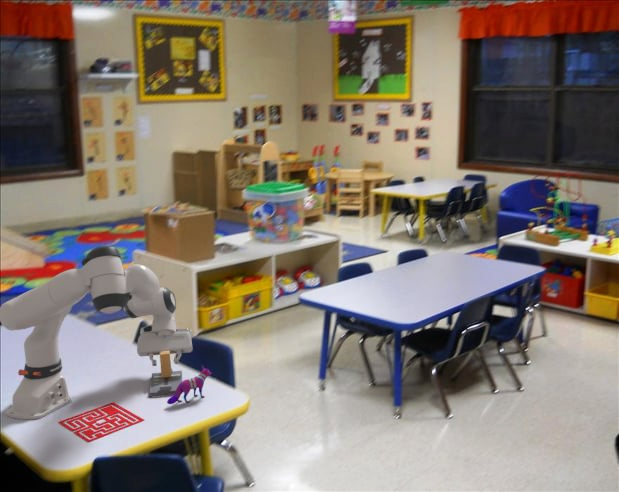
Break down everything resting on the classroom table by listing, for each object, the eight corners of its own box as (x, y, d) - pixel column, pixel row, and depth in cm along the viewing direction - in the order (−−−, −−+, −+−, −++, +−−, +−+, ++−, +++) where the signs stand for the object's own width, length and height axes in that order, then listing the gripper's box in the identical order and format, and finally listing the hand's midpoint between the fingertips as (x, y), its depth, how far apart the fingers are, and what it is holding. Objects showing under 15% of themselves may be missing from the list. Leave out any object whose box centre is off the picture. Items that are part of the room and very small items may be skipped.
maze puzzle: (58, 423, 237) (58, 421, 237) (113, 403, 251) (113, 402, 251) (88, 443, 223) (88, 441, 223) (144, 421, 237) (144, 419, 237)
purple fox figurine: (215, 394, 256) (213, 366, 253) (170, 409, 244) (168, 380, 242) (210, 390, 258) (208, 363, 256) (165, 406, 247) (162, 377, 245)
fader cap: (171, 376, 267) (169, 353, 265) (161, 377, 266) (159, 354, 264) (171, 373, 270) (169, 349, 268) (161, 374, 270) (160, 350, 268)
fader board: (181, 393, 256) (181, 386, 256) (150, 397, 255) (149, 389, 254) (182, 374, 274) (181, 366, 273) (152, 377, 272) (151, 369, 271)
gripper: (192, 331, 278) (194, 365, 271) (138, 336, 275) (138, 370, 268) (191, 324, 273) (193, 358, 266) (136, 328, 270) (136, 363, 263)
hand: (165, 364), depth 267 cm, fingers open, 7 cm apart
